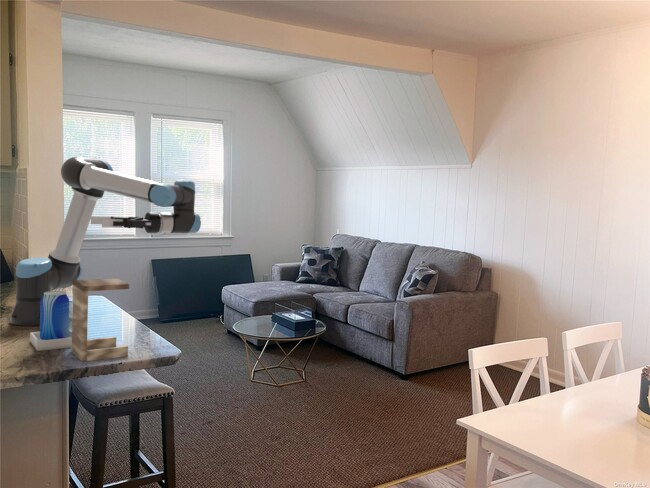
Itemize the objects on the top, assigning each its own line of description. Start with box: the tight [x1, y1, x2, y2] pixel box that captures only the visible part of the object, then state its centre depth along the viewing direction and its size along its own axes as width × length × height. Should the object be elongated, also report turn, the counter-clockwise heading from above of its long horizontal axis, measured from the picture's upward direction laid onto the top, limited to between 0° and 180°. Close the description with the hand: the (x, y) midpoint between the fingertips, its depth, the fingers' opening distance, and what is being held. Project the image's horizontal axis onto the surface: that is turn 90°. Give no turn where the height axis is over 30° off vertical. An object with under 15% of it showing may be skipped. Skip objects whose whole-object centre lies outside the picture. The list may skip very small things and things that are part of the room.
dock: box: [71, 277, 130, 362], centre depth 173 cm, size 14×13×22 cm
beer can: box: [39, 290, 70, 340], centre depth 181 cm, size 8×8×16 cm
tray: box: [29, 328, 72, 351], centre depth 181 cm, size 12×12×3 cm
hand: (96, 221), depth 188 cm, fingers open, 13 cm apart
